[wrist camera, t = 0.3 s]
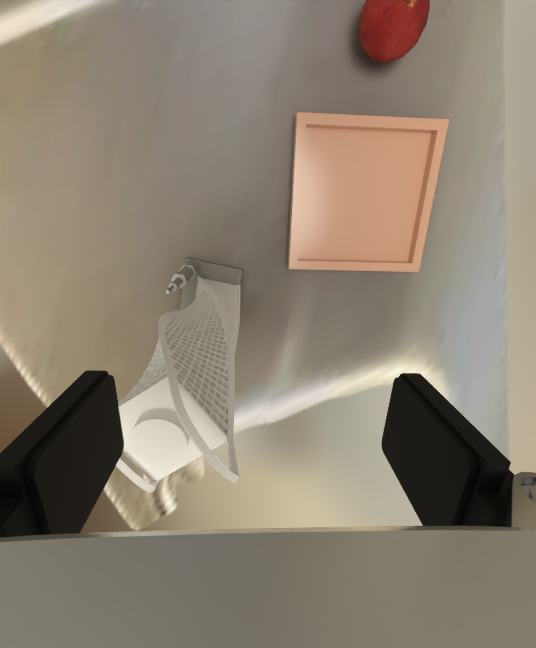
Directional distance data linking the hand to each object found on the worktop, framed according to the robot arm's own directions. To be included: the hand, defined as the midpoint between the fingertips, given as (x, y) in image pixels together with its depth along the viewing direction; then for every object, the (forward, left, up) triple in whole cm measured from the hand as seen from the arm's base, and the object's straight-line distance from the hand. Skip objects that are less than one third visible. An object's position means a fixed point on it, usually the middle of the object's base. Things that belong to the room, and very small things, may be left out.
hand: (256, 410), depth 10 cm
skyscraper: (+4, -5, -30) cm, 31 cm away
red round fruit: (-23, +12, -30) cm, 40 cm away
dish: (-8, +12, -30) cm, 33 cm away
